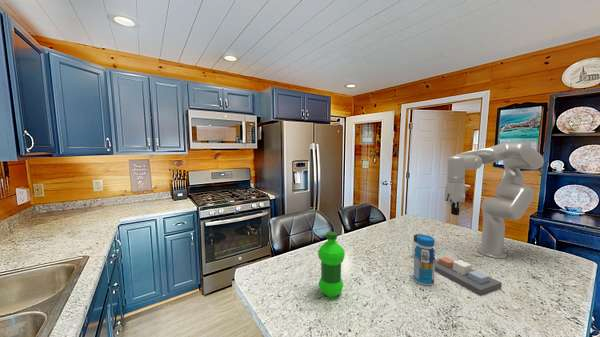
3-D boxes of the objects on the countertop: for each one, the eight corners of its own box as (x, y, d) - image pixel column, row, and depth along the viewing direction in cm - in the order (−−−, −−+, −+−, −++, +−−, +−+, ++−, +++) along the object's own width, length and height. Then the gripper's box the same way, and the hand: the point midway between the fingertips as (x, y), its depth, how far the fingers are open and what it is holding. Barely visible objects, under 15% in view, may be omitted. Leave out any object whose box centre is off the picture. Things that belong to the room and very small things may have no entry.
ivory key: (459, 268, 109) (460, 259, 108) (471, 273, 104) (471, 264, 104) (452, 270, 107) (453, 261, 107) (463, 275, 102) (464, 266, 102)
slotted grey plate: (447, 262, 119) (447, 257, 119) (501, 288, 97) (501, 282, 97) (427, 267, 114) (427, 262, 114) (479, 295, 92) (480, 289, 92)
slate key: (475, 278, 102) (476, 270, 102) (488, 285, 98) (488, 276, 97) (468, 281, 101) (468, 272, 100) (480, 287, 96) (481, 278, 96)
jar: (424, 263, 118) (425, 241, 117) (409, 257, 125) (410, 236, 124) (433, 259, 123) (434, 237, 122) (418, 253, 129) (419, 232, 128)
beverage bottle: (408, 277, 105) (410, 235, 103) (421, 274, 108) (423, 232, 106) (425, 288, 97) (427, 242, 95) (438, 283, 100) (441, 239, 99)
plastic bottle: (317, 285, 99) (317, 228, 97) (341, 286, 98) (343, 229, 96) (318, 300, 89) (319, 238, 87) (345, 301, 88) (347, 238, 86)
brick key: (445, 264, 115) (446, 256, 115) (455, 269, 111) (456, 261, 110) (438, 266, 114) (439, 258, 113) (448, 271, 109) (448, 263, 109)
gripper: (458, 177, 125) (457, 210, 127) (439, 180, 120) (438, 214, 121) (472, 179, 118) (471, 214, 120) (453, 182, 113) (452, 218, 114)
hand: (455, 214), depth 121 cm, fingers closed
